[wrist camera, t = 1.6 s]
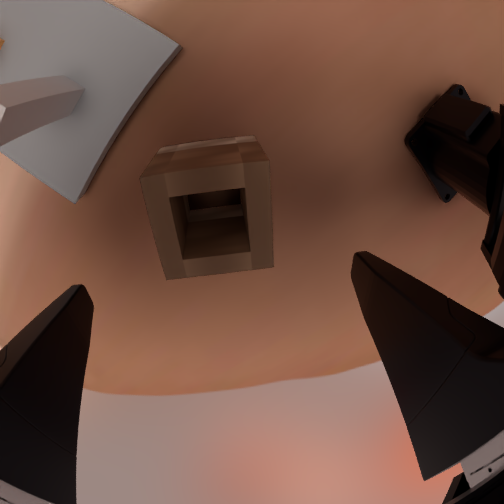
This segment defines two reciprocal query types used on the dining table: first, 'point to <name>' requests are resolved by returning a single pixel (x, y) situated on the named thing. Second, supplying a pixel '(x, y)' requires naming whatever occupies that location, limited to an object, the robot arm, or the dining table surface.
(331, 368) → the dining table surface
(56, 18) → the pin board
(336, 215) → the dining table surface
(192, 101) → the dining table surface
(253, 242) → the sleeve
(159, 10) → the dining table surface
